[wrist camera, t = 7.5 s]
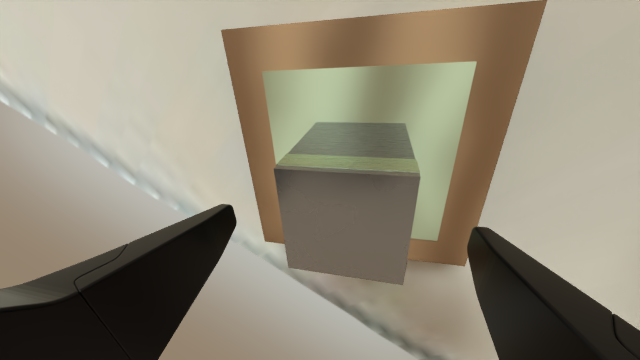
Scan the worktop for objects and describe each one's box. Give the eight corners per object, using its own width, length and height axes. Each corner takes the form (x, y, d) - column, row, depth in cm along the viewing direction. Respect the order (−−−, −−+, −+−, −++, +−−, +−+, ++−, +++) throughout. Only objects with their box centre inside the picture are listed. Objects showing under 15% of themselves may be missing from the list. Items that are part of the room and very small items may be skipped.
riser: (511, 10, 12) (550, -1, 9) (453, 235, 18) (465, 268, 15) (249, 33, 15) (218, 29, 12) (279, 218, 21) (263, 243, 19)
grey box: (405, 122, 12) (421, 176, 7) (396, 200, 14) (403, 285, 9) (316, 121, 13) (272, 167, 8) (320, 194, 15) (288, 267, 10)
